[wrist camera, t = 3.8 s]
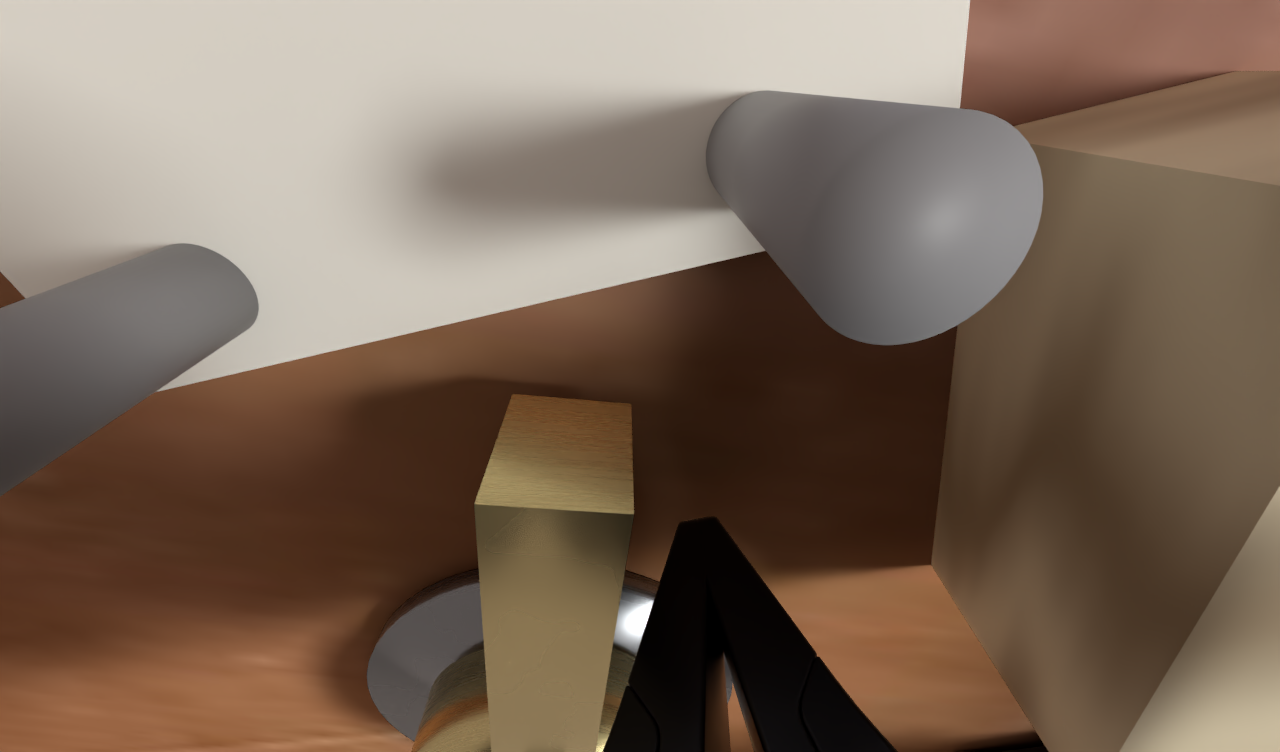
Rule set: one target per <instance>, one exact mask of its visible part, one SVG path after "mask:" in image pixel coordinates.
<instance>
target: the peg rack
mask: <svg viewBox="0 0 1280 752" xmlns="http://www.w3.org/2000/svg"><path fill="white" fill-rule="evenodd" d="M969 6H970V0H0V272H1V273H2V274H3V275H4V276H5V277H6V278H7V279H8V280H9V281H10V282H11V284H12V285H13V286H14V287H15V288H16V289H17V290H18V291H19V292H20V293H21V294H22V295H23V296H24V297H25V298H26V299H23V300H21V301H18V302H15V303H13V304H10V305H7V306H5V307H2V308H0V496H2V495H3V494H5V493H6V492H8V491H9V490H11V489H12V488H13V487H15V486H16V485H18V484H19V483H21V482H22V481H24V480H25V479H27V478H28V477H30V476H31V475H33V474H34V473H36V472H37V471H39V470H40V469H42V468H43V467H45V466H46V465H48V464H49V463H51V462H52V461H53V460H55V459H56V458H58V457H59V456H61V455H62V454H64V453H65V452H67V451H68V450H70V449H71V448H73V447H74V446H76V445H77V444H79V443H80V442H82V441H83V440H85V439H86V438H88V437H89V436H91V435H92V434H94V433H95V432H96V431H98V430H99V429H101V428H102V427H104V426H105V425H107V424H108V423H110V422H111V421H113V420H114V419H116V418H117V417H119V416H120V415H122V414H123V413H125V412H126V411H128V410H129V409H131V408H132V407H134V406H135V405H136V404H138V403H139V402H141V401H142V400H144V399H145V398H147V397H148V396H150V395H151V394H153V393H154V392H158V391H162V390H167V389H171V388H175V387H180V386H184V385H188V384H193V383H197V382H201V381H206V380H210V379H214V378H219V377H223V376H227V375H232V374H236V373H240V372H244V371H249V370H253V369H257V368H262V367H266V366H270V365H275V364H279V363H283V362H288V361H292V360H296V359H301V358H305V357H309V356H313V355H318V354H322V353H326V352H331V351H335V350H339V349H344V348H348V347H352V346H357V345H361V344H365V343H370V342H374V341H378V340H383V339H387V338H391V337H395V336H400V335H404V334H408V333H413V332H417V331H421V330H426V329H430V328H434V327H439V326H443V325H447V324H452V323H456V322H460V321H464V320H469V319H473V318H477V317H482V316H486V315H490V314H495V313H499V312H503V311H508V310H512V309H516V308H521V307H525V306H529V305H534V304H538V303H542V302H546V301H551V300H555V299H559V298H564V297H568V296H572V295H577V294H581V293H585V292H590V291H594V290H598V289H603V288H607V287H611V286H615V285H620V284H624V283H628V282H633V281H637V280H641V279H646V278H650V277H654V276H659V275H663V274H667V273H672V272H676V271H680V270H685V269H689V268H693V267H697V266H702V265H706V264H710V263H715V262H719V261H723V260H728V259H732V258H736V257H741V256H745V255H749V254H754V253H758V252H762V251H766V252H767V253H768V254H769V255H770V257H771V258H772V259H773V260H774V261H775V263H776V264H777V265H778V266H779V268H780V269H781V270H782V271H783V272H784V274H785V275H786V276H787V277H788V279H789V280H790V281H791V282H792V283H793V285H794V286H795V287H796V288H797V289H798V291H799V292H800V293H801V294H802V296H803V297H804V298H805V299H806V300H807V302H808V303H809V304H810V305H811V307H812V308H813V309H814V310H815V311H816V313H817V314H818V315H819V316H820V317H821V318H822V319H823V320H824V321H825V322H826V324H827V325H829V326H830V327H831V328H833V329H834V330H835V331H837V332H839V333H840V334H842V335H844V336H846V337H848V338H851V339H853V340H856V341H859V342H864V343H868V344H876V345H899V344H906V343H912V342H916V341H920V340H924V339H927V338H930V337H933V336H935V335H938V334H941V333H943V332H945V331H947V330H949V329H951V328H953V327H955V326H957V325H958V324H960V323H961V322H963V321H965V320H966V319H968V318H969V317H971V316H972V315H974V314H975V313H976V312H978V311H979V310H980V309H982V308H983V307H984V306H985V305H986V304H987V303H988V302H990V301H991V300H992V299H993V298H994V297H995V296H996V295H997V294H998V293H999V292H1000V291H1001V290H1002V288H1003V287H1004V286H1005V285H1006V284H1007V283H1008V281H1009V280H1010V279H1011V278H1012V276H1013V275H1014V274H1015V272H1016V271H1017V269H1018V268H1019V266H1020V265H1021V263H1022V261H1023V260H1024V258H1025V256H1026V254H1027V252H1028V250H1029V248H1030V246H1031V244H1032V242H1033V239H1034V237H1035V234H1036V231H1037V229H1038V225H1039V221H1040V217H1041V212H1042V204H1043V180H1042V175H1041V169H1040V166H1039V163H1038V160H1037V157H1036V154H1035V153H1034V151H1033V149H1032V147H1031V146H1030V144H1029V142H1028V141H1027V140H1026V139H1025V137H1024V136H1023V135H1022V134H1021V133H1020V132H1019V131H1018V130H1017V129H1016V128H1014V127H1013V126H1012V125H1011V124H1009V123H1008V122H1006V121H1004V120H1002V119H1000V118H998V117H997V116H995V115H992V114H988V113H985V112H982V111H978V110H970V109H961V108H960V102H961V91H962V80H963V70H964V59H965V49H966V38H967V27H968V17H969Z"/></svg>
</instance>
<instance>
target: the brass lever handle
mask: <svg viewBox="0 0 1280 752" xmlns="http://www.w3.org/2000/svg"><path fill="white" fill-rule="evenodd" d="M474 509H475V524H476V538H477V552H478V567H479V581H480V596H481V610H482V625H483V639H484V649H481V650H478V651H475V652H472V653H470V654H468V655H466V656H464V657H462V658H460V659H458V660H457V661H455V662H454V663H452V664H450V665H449V666H448V667H447V668H446V669H445V670H443V671H442V672H441V673H440V675H439V676H438V677H437V678H436V680H435V681H434V683H433V686H432V688H431V690H430V693H429V697H428V700H427V703H426V706H425V709H424V713H423V716H422V719H421V722H420V725H419V729H418V732H417V735H416V738H415V741H414V745H413V748H412V751H411V752H602V751H603V749H604V746H605V744H606V741H607V739H608V736H609V733H610V731H611V728H612V725H613V722H614V719H615V717H616V714H617V711H618V708H619V705H620V702H621V699H622V696H623V693H624V690H625V687H626V686H627V685H628V678H629V675H630V672H631V669H632V666H633V663H634V660H635V657H633V656H631V655H629V654H627V653H625V652H622V651H619V650H616V649H613V648H612V647H613V641H614V635H615V629H616V623H617V617H618V610H619V604H620V598H621V592H622V586H623V580H624V573H625V567H626V561H627V555H628V549H629V543H630V537H631V530H632V524H633V518H634V492H633V454H632V416H631V404H627V403H615V402H603V401H591V400H579V399H567V398H555V397H543V396H531V395H519V394H512V397H511V399H510V402H509V405H508V408H507V411H506V414H505V417H504V420H503V423H502V425H501V428H500V431H499V434H498V437H497V440H496V443H495V446H494V448H493V451H492V454H491V457H490V460H489V463H488V466H487V469H486V472H485V474H484V477H483V480H482V483H481V486H480V489H479V492H478V495H477V497H476V500H475V503H474Z"/></svg>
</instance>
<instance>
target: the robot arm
mask: <svg viewBox="0 0 1280 752" xmlns="http://www.w3.org/2000/svg"><path fill="white" fill-rule="evenodd" d="M724 655H725V658H726V662H727V665H728V668H729V671H730V675H731V678H732V681H733V684H734V688H735V691H736V694H737V697H738V701H739V704H740V707H741V711H742V714H743V717H744V720H745V724H746V727H747V730H748V733H749V737H750V740H751V743H752V747H753V750H754V752H898V751H897V750H896V749H895V748H894V747H893V746H892V745H891V744H890V743H889V742H888V740H887V739H886V738H885V737H884V736H883V735H882V734H881V733H880V732H879V730H878V729H877V728H876V727H875V726H874V725H873V724H872V722H871V721H870V720H869V719H868V718H867V717H866V715H865V714H864V713H863V712H862V711H861V710H860V709H859V707H858V706H857V705H856V704H855V703H854V701H853V700H852V699H851V698H850V696H849V695H848V694H847V692H846V691H845V690H844V689H843V687H842V686H841V685H840V683H839V682H838V681H837V680H836V678H835V677H834V676H833V674H832V673H831V672H830V670H829V669H828V668H827V666H826V665H825V664H824V662H823V661H822V660H821V658H820V657H817V654H816V652H815V650H814V649H813V648H812V646H811V645H810V644H809V642H808V641H807V640H806V638H805V637H804V635H803V634H802V633H801V631H800V630H799V629H798V627H797V626H796V625H795V623H794V622H793V621H792V619H791V618H790V616H789V615H788V614H787V612H786V611H785V610H784V608H783V607H782V606H781V604H780V603H779V602H778V600H777V599H776V597H775V596H774V595H773V593H772V592H771V591H770V589H769V588H768V587H767V585H766V584H765V582H764V581H763V580H762V578H761V577H760V576H759V574H758V573H757V572H756V570H755V569H754V568H753V566H752V565H751V563H750V562H749V561H748V559H747V558H746V557H745V555H744V554H743V553H742V551H741V550H740V549H739V547H738V546H737V544H736V543H735V542H734V540H733V539H732V538H731V536H730V535H729V534H728V532H727V531H726V530H725V528H724V527H723V525H722V524H721V523H720V521H719V520H718V519H717V518H716V517H715V516H710V517H704V518H699V519H693V520H688V521H682V522H680V523H679V525H678V527H677V530H676V533H675V536H674V540H673V543H672V546H671V549H670V552H669V555H668V558H667V561H666V564H665V567H664V570H663V573H662V577H661V580H660V583H659V586H658V589H657V592H656V595H655V598H654V601H653V604H652V607H651V610H650V613H649V617H648V620H647V623H646V626H645V629H644V632H643V635H642V638H641V641H640V644H639V647H638V650H637V654H636V657H635V660H634V663H633V666H632V669H631V672H630V675H629V678H628V685H627V686H626V687H625V690H624V693H623V696H622V699H621V702H620V705H619V708H618V711H617V714H616V717H615V719H614V722H613V725H612V728H611V731H610V733H609V736H608V739H607V741H606V744H605V746H604V749H603V751H602V752H731V748H730V735H729V721H728V707H727V693H726V679H725V665H724ZM1004 752H1049V751H1048V750H1047V748H1046V747H1045V746H1041V747H1034V748H1026V749H1019V750H1011V751H1004Z"/></svg>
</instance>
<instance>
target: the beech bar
mask: <svg viewBox="0 0 1280 752" xmlns="http://www.w3.org/2000/svg"><path fill="white" fill-rule="evenodd" d="M1013 127H1014V128H1016V129H1017V130H1018V131H1019V132H1020V133H1021V134H1022V135H1023V136H1024V137H1025V139H1026V140H1027V141H1028V142H1029V144H1030V146H1031V147H1032V149H1033V151H1034V153H1035V154H1036V157H1037V160H1038V163H1039V166H1040V169H1041V175H1042V180H1043V204H1042V212H1041V217H1040V221H1039V225H1038V229H1037V231H1036V234H1035V237H1034V239H1033V242H1032V244H1031V246H1030V248H1029V250H1028V252H1027V254H1026V256H1025V258H1024V260H1023V261H1022V263H1021V265H1020V266H1019V268H1018V269H1017V271H1016V272H1015V274H1014V275H1013V276H1012V278H1011V279H1010V280H1009V281H1008V283H1007V284H1006V285H1005V286H1004V287H1003V288H1002V290H1001V291H1000V292H999V293H998V294H997V295H996V296H995V297H994V298H993V299H992V300H991V301H990V302H988V303H987V304H986V305H985V306H984V307H983V308H982V309H980V310H979V311H978V312H976V313H975V314H974V315H972V316H971V317H969V318H968V319H966V320H965V321H963V322H961V323H960V324H958V326H957V335H956V344H955V353H954V363H953V372H952V381H951V390H950V399H949V408H948V417H947V426H946V435H945V444H944V453H943V462H942V471H941V480H940V489H939V498H938V507H937V516H936V525H935V534H934V543H933V552H932V561H931V565H932V567H933V569H934V570H935V572H936V573H937V575H938V577H939V578H940V580H941V581H942V583H943V585H944V586H945V588H946V589H947V591H948V592H949V594H950V596H951V597H952V599H953V600H954V602H955V604H956V605H957V607H958V608H959V610H960V612H961V613H962V615H963V616H964V618H965V619H966V621H967V623H968V624H969V626H970V627H971V629H972V631H973V632H974V634H975V635H976V637H977V639H978V640H979V642H980V643H981V645H982V646H983V648H984V650H985V651H986V653H987V654H988V656H989V658H990V659H991V661H992V662H993V664H994V666H995V667H996V669H997V670H998V672H999V674H1000V675H1001V677H1002V678H1003V680H1004V681H1005V683H1006V685H1007V686H1008V688H1009V689H1010V691H1011V693H1012V694H1013V696H1014V697H1015V699H1016V701H1017V702H1018V704H1019V705H1020V707H1021V708H1022V710H1023V712H1024V713H1025V715H1026V716H1027V718H1028V720H1029V721H1030V723H1031V724H1032V726H1033V728H1034V729H1035V731H1036V732H1037V734H1038V735H1039V737H1040V739H1041V740H1042V742H1043V743H1044V745H1045V747H1046V748H1047V750H1048V751H1049V752H1280V71H1234V72H1230V73H1226V74H1222V75H1218V76H1214V77H1210V78H1206V79H1202V80H1198V81H1194V82H1190V83H1186V84H1182V85H1178V86H1174V87H1170V88H1166V89H1162V90H1158V91H1154V92H1150V93H1146V94H1142V95H1138V96H1134V97H1129V98H1125V99H1121V100H1117V101H1113V102H1109V103H1105V104H1101V105H1097V106H1093V107H1089V108H1085V109H1081V110H1077V111H1073V112H1069V113H1065V114H1061V115H1057V116H1053V117H1049V118H1045V119H1041V120H1037V121H1033V122H1029V123H1025V124H1020V125H1016V126H1013Z"/></svg>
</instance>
